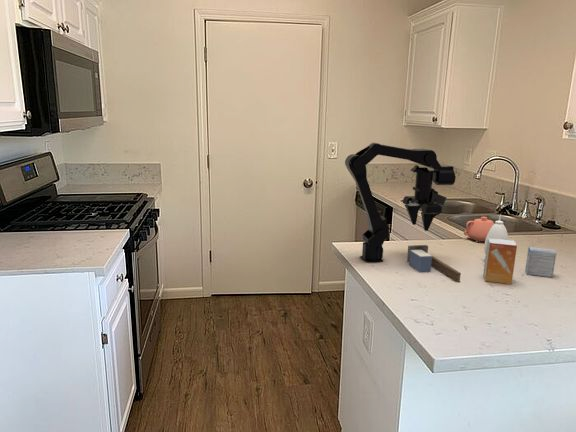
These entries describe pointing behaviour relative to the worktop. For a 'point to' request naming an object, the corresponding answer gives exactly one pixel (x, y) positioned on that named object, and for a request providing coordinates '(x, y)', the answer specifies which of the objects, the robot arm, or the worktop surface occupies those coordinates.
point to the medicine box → (540, 262)
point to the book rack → (437, 263)
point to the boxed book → (420, 260)
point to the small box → (499, 260)
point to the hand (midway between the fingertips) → (419, 227)
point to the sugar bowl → (478, 229)
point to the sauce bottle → (497, 232)
